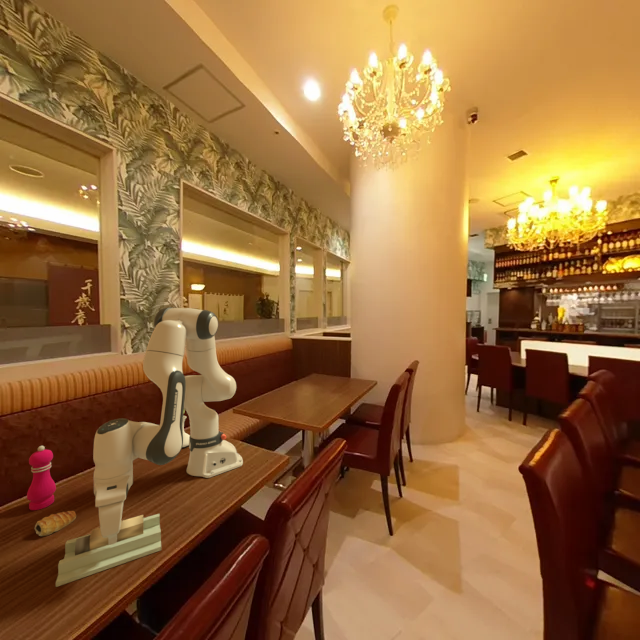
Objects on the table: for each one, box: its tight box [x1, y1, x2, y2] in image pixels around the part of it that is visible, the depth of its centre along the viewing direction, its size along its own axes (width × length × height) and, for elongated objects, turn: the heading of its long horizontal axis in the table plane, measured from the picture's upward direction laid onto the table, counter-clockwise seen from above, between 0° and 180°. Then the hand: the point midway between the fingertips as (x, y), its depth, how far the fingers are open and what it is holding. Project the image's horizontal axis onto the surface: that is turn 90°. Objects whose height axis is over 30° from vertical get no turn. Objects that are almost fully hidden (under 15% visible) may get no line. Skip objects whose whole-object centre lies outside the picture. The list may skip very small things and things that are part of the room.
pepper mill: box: [26, 445, 57, 511], centre depth 102 cm, size 7×7×20 cm
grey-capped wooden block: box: [75, 514, 144, 555], centre depth 82 cm, size 15×4×5 cm, turn 120°
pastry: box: [33, 510, 77, 537], centre depth 91 cm, size 9×7×4 cm
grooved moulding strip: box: [55, 513, 162, 588], centre depth 82 cm, size 22×14×4 cm, turn 120°
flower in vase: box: [182, 408, 191, 448], centre depth 147 cm, size 13×11×25 cm
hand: (114, 531), depth 82 cm, fingers open, 8 cm apart
